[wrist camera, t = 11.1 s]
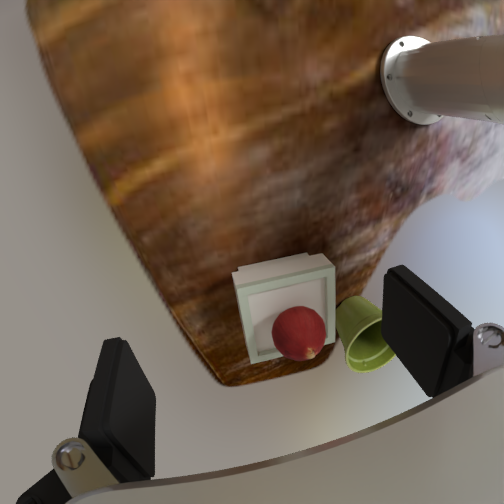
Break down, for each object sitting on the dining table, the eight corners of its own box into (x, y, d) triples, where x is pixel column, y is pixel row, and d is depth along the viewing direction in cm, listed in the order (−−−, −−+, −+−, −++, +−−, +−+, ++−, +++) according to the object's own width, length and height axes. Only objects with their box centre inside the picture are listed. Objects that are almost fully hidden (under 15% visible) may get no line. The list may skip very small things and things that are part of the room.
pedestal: (313, 243, 41) (334, 266, 35) (316, 313, 46) (335, 342, 40) (228, 261, 40) (236, 289, 34) (242, 331, 44) (251, 364, 38)
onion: (307, 332, 39) (331, 376, 32) (262, 335, 38) (279, 382, 31) (316, 292, 37) (345, 332, 30) (268, 293, 36) (288, 337, 28)
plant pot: (320, 295, 45) (345, 331, 37) (378, 277, 45) (410, 307, 38) (323, 344, 49) (345, 381, 41) (376, 326, 49) (403, 358, 42)
